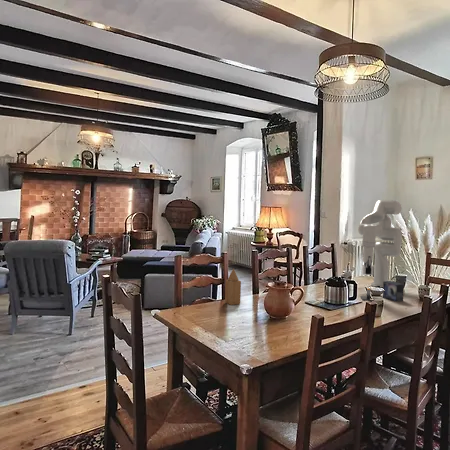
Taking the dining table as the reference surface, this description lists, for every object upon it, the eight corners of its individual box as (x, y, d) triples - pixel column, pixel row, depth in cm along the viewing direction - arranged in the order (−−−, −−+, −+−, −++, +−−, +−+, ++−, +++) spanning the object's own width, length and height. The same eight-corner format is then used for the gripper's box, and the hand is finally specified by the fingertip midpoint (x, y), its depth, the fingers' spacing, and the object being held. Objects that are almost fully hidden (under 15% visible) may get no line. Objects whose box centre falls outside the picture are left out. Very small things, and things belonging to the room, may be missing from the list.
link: (361, 272, 245) (362, 265, 245) (371, 273, 244) (371, 265, 243) (363, 274, 239) (363, 266, 239) (373, 275, 238) (373, 267, 238)
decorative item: (234, 301, 221) (235, 267, 219) (240, 304, 215) (241, 268, 214) (224, 302, 217) (225, 267, 216) (231, 305, 212) (232, 269, 210)
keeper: (360, 297, 239) (360, 286, 239) (373, 298, 237) (374, 287, 237) (362, 300, 231) (362, 289, 231) (376, 301, 230) (376, 290, 229)
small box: (381, 297, 240) (382, 281, 239) (389, 296, 242) (390, 280, 242) (395, 301, 230) (396, 284, 229) (403, 300, 233) (404, 283, 232)
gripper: (360, 242, 249) (359, 270, 251) (364, 246, 233) (363, 275, 234) (372, 243, 248) (371, 270, 249) (377, 246, 231) (376, 276, 232)
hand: (367, 272), depth 241 cm, fingers closed on link, 6 cm apart
